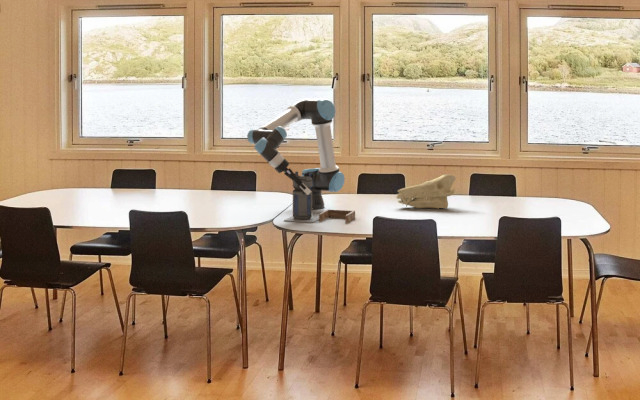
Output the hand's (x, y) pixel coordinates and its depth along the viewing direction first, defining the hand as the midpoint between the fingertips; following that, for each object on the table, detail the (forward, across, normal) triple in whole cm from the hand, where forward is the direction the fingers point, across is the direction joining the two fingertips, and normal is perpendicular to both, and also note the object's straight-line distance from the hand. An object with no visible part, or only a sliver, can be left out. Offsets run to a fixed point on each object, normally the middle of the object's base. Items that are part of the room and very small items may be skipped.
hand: (307, 191), depth 393 cm
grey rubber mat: (+9, 0, -12) cm, 15 cm away
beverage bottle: (+9, -1, -12) cm, 15 cm away
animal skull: (+65, -39, +44) cm, 87 cm away
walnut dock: (+21, +3, +1) cm, 22 cm away
